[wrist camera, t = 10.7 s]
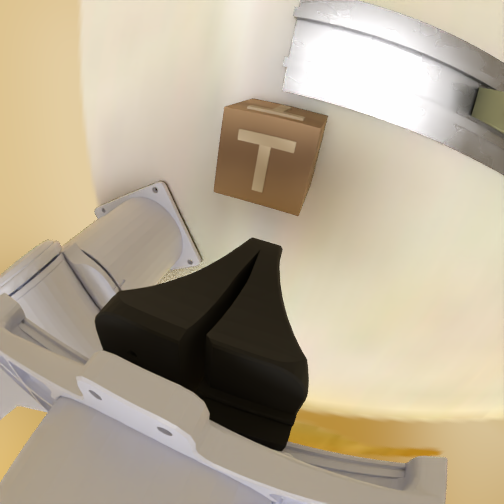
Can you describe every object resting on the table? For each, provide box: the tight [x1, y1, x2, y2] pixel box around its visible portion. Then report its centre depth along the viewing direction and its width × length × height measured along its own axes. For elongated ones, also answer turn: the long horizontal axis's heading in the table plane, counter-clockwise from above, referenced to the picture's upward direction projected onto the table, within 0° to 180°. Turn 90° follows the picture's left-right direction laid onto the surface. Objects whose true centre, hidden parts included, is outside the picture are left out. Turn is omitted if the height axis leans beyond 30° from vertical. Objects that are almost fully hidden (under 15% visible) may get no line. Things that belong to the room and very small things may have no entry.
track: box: [282, 0, 504, 175], centre depth 13 cm, size 26×7×2 cm, turn 80°
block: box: [214, 99, 328, 216], centre depth 18 cm, size 5×5×5 cm
